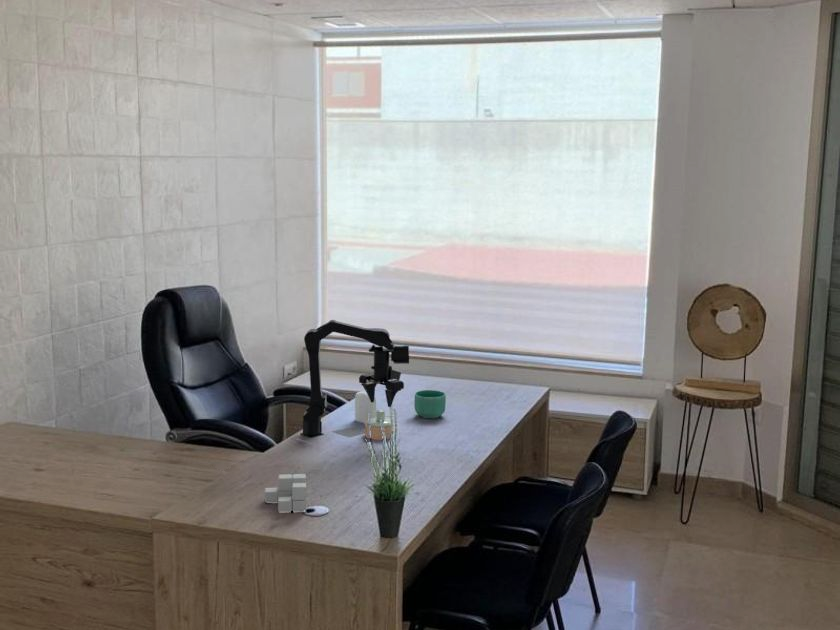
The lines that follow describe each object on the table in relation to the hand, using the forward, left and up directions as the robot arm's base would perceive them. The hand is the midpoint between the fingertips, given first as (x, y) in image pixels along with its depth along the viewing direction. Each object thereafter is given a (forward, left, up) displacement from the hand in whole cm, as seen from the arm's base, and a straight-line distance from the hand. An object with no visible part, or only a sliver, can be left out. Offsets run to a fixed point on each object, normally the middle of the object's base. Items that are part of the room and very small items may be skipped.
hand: (381, 404), depth 352 cm
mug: (+37, +9, -13) cm, 40 cm away
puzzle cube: (-71, -35, -13) cm, 80 cm away
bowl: (0, 0, -12) cm, 12 cm away
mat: (-5, +11, -12) cm, 17 cm away
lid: (0, 0, -7) cm, 7 cm away
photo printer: (+9, +18, -13) cm, 24 cm away
